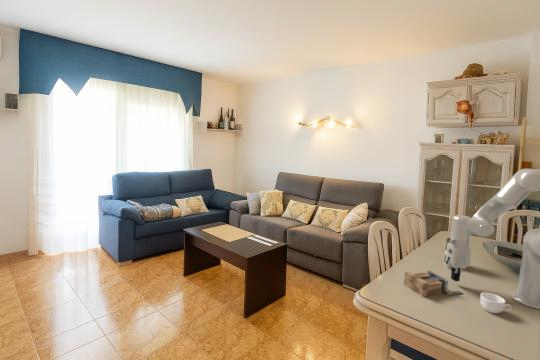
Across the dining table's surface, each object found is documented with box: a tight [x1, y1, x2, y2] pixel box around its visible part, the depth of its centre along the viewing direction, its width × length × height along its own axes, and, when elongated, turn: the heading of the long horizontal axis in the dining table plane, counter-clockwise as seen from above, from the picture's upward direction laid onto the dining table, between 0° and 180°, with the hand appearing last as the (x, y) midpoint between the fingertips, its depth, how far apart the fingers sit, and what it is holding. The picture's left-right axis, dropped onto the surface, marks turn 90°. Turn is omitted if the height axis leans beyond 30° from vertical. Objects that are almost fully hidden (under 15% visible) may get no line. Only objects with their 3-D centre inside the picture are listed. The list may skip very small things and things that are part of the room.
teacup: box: [479, 292, 513, 314], centre depth 115 cm, size 10×8×5 cm
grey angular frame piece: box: [423, 270, 452, 293], centre depth 131 cm, size 12×10×5 cm
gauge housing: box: [403, 271, 463, 298], centre depth 131 cm, size 13×20×6 cm, turn 106°
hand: (455, 279), depth 136 cm, fingers closed
